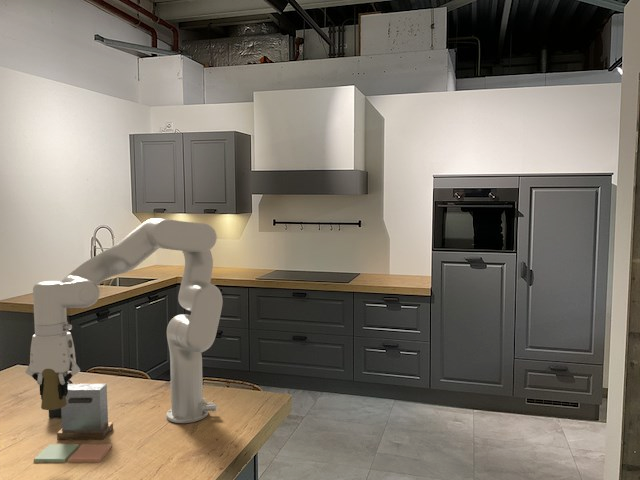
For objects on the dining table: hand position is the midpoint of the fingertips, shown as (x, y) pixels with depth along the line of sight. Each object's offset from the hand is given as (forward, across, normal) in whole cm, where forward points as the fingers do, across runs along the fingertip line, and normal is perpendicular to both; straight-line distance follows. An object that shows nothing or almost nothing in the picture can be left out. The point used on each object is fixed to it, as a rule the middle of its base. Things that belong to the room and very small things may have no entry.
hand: (54, 397), depth 142 cm
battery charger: (+16, +10, -25) cm, 31 cm away
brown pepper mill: (+2, 0, 0) cm, 2 cm away
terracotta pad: (+16, -9, 0) cm, 18 cm away
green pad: (+16, 0, 0) cm, 16 cm away
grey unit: (+16, -2, -12) cm, 20 cm away
